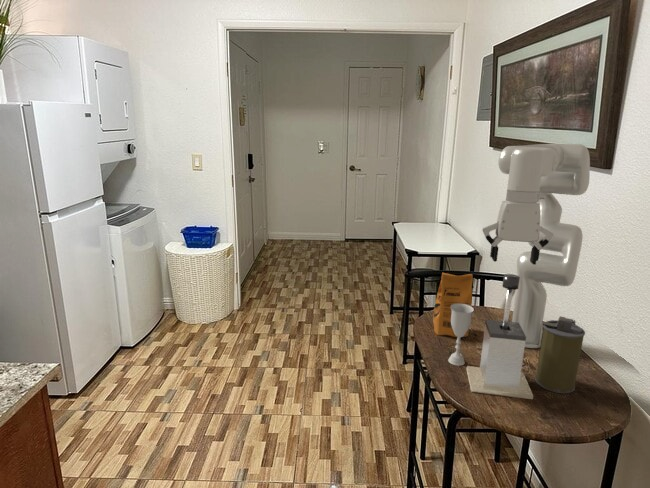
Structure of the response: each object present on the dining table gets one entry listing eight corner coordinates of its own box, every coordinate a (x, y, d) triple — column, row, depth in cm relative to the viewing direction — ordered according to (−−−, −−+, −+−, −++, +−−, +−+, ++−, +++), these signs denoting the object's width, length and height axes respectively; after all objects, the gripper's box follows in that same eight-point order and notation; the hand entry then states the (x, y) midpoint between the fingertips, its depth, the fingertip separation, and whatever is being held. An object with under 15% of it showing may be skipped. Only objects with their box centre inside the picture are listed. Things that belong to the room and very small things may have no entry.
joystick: (522, 375, 131) (530, 321, 126) (532, 399, 119) (541, 340, 115) (466, 368, 134) (472, 315, 130) (471, 391, 122) (477, 334, 118)
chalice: (469, 368, 134) (475, 313, 129) (446, 365, 135) (451, 311, 131) (466, 356, 141) (472, 304, 136) (444, 354, 142) (449, 302, 138)
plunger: (510, 346, 126) (520, 274, 120) (515, 355, 120) (525, 280, 115) (489, 343, 127) (498, 272, 121) (492, 353, 121) (502, 279, 116)
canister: (575, 380, 129) (587, 316, 124) (574, 398, 120) (586, 330, 115) (535, 369, 134) (544, 308, 129) (531, 386, 125) (540, 321, 120)
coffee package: (431, 324, 164) (436, 268, 159) (466, 327, 162) (472, 270, 157) (433, 336, 155) (438, 276, 149) (470, 339, 153) (476, 279, 147)
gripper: (554, 197, 114) (544, 260, 119) (484, 193, 118) (477, 255, 122) (563, 201, 107) (552, 268, 111) (488, 197, 111) (481, 262, 115)
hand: (513, 261), depth 117 cm, fingers open, 9 cm apart
